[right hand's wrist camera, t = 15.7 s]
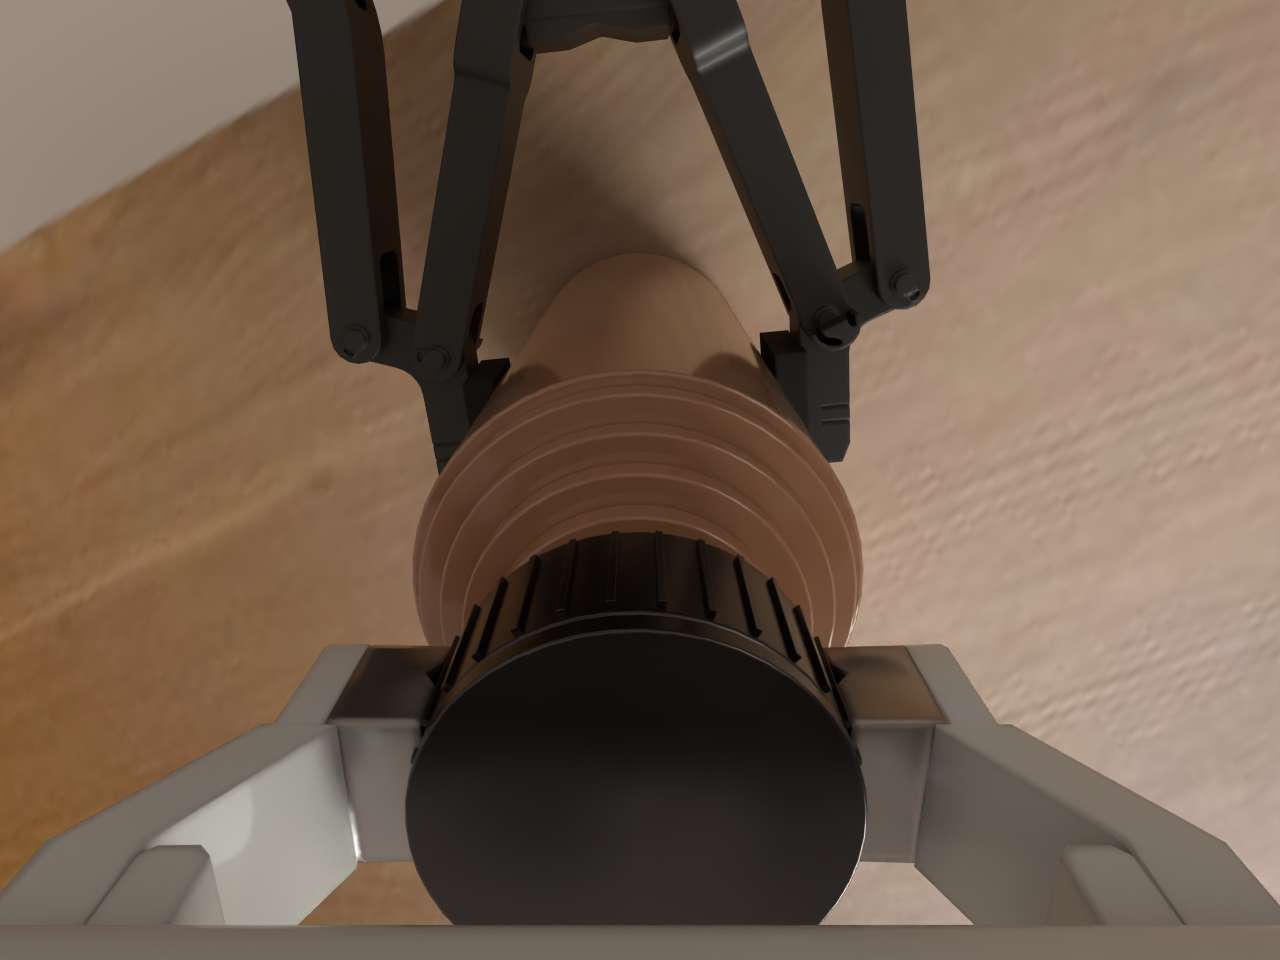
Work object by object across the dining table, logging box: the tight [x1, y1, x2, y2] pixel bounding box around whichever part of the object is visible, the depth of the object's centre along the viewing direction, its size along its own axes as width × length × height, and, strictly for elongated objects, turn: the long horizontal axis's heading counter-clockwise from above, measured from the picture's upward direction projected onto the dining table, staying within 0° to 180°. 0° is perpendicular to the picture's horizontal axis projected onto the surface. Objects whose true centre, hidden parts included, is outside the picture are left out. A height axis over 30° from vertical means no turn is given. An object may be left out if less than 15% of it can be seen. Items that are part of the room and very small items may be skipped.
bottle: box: [413, 253, 863, 648], centre depth 18 cm, size 7×7×21 cm
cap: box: [405, 531, 868, 925], centre depth 9 cm, size 5×5×2 cm
